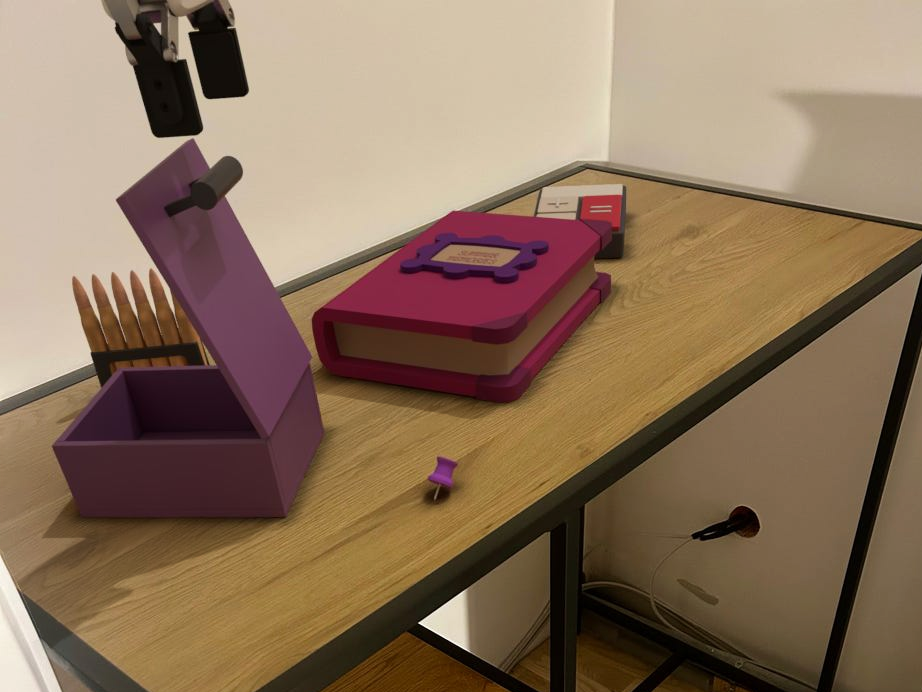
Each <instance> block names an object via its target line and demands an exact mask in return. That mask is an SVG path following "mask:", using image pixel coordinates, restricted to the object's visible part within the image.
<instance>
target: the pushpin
mask: <svg viewBox="0 0 922 692" xmlns="http://www.w3.org/2000/svg"><path fill="white" fill-rule="evenodd" d="M436 462H437V463H436V467H435V468H434V471H433V473H431V474H430V475H428V477H427V481H429V482H430V483H433V484H435V485H437V488H436V491H435V493H434V497H433V501H435V500H436V499H437V498H438V497H437V496H438V494H439V491H440V488H441V487H444V488H447V489H453V487H454V483H453V479H452V478H453V475H454V470H455V468H457V467H458V466H459V462H456V461H454V460H452V459H450V458H447V457H443V456H436Z"/></svg>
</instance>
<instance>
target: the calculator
mask: <svg viewBox="0 0 922 692" xmlns="http://www.w3.org/2000/svg"><path fill="white" fill-rule="evenodd" d="M533 217H546V218H559V219H572V220H579V219H592V220H605V221H609V222H612V240H611V241H610V242H609V243H608V244H607V246H606V247H605V248H604V249H603V250H602V251H598V252H597V253H596V254H595V255H594V260H595V259H597V260H598V259H621V258H624V254H625V234H626V222H627V221H626V218H627V186H626V185H624V184H622V183H607V184H606V183H605V184H585V185H582V184H581V185H564V186H563V185H562V186H544V187H542V188H541V189H539V191H538V196H537V199H536V204H535V209H534V212H533Z"/></svg>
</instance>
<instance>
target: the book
mask: <svg viewBox="0 0 922 692" xmlns="http://www.w3.org/2000/svg"><path fill="white" fill-rule="evenodd" d="M611 240H612V222H609V221H605V220H592V219H579V220H572V219H559V218H546V217H534V216H533V215H532V216H531V215H517V214H505V213H493V212H492V213H490V212H480V211H479V212H477V211H464V210H452V211H450V212H448V213H447V214H445V215H444V216H443V217H442V218H440V219H439V220H438V221H436V222H435V223H433V224H432V225H431V226H430V227H428V228H427V229H425V230H424V231H423V232H421V233H420V234H418V235H417V236H416V237H415V238H413V239H412V240H410V241H409V242H408V243H406V244H405V245H404V246H402V247H401V248H399V249H398V250H397V251H395V252H394V253H393V254H391V255H390V256H388V257H387V258H386V259H384V260H383V261H382V262H380V263H379V264H378V265H377V266H375V267H374V268H373V269H371V270H369V271H368V272H367V273H366V274H364V275H363V276H361V277H360V278H358V280H356V281H355V282H353V283H352V284H351V285H349V286H348V287H346V288H345V289H344V290H343V291H341V292H340V293H338V294H337V295H335V296H334V297H333V298H332V299H330V300H329V301H327V302H326V303H324V305H322V306H320V307H319V308H318V309H317V310H315V311H314V312H313V315H312V317H311V330H312V336H313V340H314V345H315V349H316V353H317V356H318V360H319V362H320V364H321V365H322V366H323V368H325V370H327V371H329V373H331V374H332V375H333V376H339V377H345V378H346V377H347V378H353V379H359V380H364V381H365V380H366V381H372V382H378V383H385V384H392V385H397V386H405V387H410V388H418V389H424V390H430V391H437V392H444V393H450V394H456V395H462V396H469V397H476V400H483V401H489V402H495V403H511V402H514V401H516V400H519V399H520V398H521V396H522V395H523V394H524V393H525V392H526V391H527V390H528V389H529V387H530V386H531V385H532V379H533V378H534V377H535V376H537V374H538V373H539V372H540V371H541V369H542V368H543V367H544V366H545V365H546V364H547V363H548V362H549V361H550V359H551V358H552V357H553V356H554V355H555V354H556V353H557V352H558V350H559V349H560V348H561V347H562V346H563V345H564V343H566V341H567V340H568V339H569V338H570V337H571V336H572V334H573V333H574V332H575V331H576V330H577V329H578V327H579V326H580V325H581V324H582V323H583V322H584V321H585V320H586V318H587V317H588V316H589V315H590V314H592V312H593V311H594V309H596V308H597V306H598V305H599V304H602V303H603V302H604V300H606V298H607V297H608V296H609V295H610V294H611V293H612V274H609V273H607V272H603V271H602V272H601V271H596V268H595V259H594V255H595V254H596V253H597V252H598V251H602V250H603V249H604V248H605V247H606V246H607V244H608V243H609V242H610V241H611Z"/></svg>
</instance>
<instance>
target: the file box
mask: <svg viewBox="0 0 922 692" xmlns="http://www.w3.org/2000/svg"><path fill="white" fill-rule="evenodd" d="M313 375H314V374H313V370H312V366H311V362H309V364H308V366H307V368H306V370H305V372H304V373H303V375H302V377H301V379H300V381H299V383H298V385H297V386H296V388H295V390H294V392H293V394H292V396H291V398H290V399H289V401H288V403H287V405H286V407H285V409H284V411H283V412H282V414H281V416H280V418H279V420H278V422H277V424H276V425H275V427H274V429H273V431H272V433H271V435H270V436H269V437H267V438H264V439H262V438H261V437H260V435H259V433H258V432H257V430H256V428H255V427H254V425H253V424H252V422H251V420H250V419H249V417H248V415H247V414H246V412H245V411H244V409H243V407H242V406H241V404H240V402H239V401H238V399H237V397H236V396H235V394H234V393H233V391H232V389H231V388H230V386H229V384H228V383H227V381H226V380H225V378H224V376H223V375H222V373H221V371H220V370H219V368H218V366H217V365H216V364H215V365H214V364H213V365H212V364H210V365H207V366H165V367H135V366H134V367H124V368H118V369H117V370H116V372H115V373H114V374H113V375H112V376H111V378H110V379H109V380H108V381H107V382H106V383H105V384H104V386H103V387H102V388H101V387H100V389H99V390H98V391H97V393H96V394H94V396H93V397H92V398H91V399H90V401H89V402H88V403H87V404H86V405H85V406H84V408H83V409H82V410H81V411H80V412H79V414H77V416H76V417H75V418H74V419H73V420H72V421H71V423H70V424H68V426H67V427H66V429H65V430H64V431H63V432H62V433H61V434H60V436H59V437H57V439H56V440H55V441H54V442H53V443H52V445H51V448H52V451H53V453H54V455H55V457H56V460H57V462H58V464H59V467H60V469H61V472H62V474H63V477H64V479H65V481H66V484H67V486H68V488H69V490H70V493H71V495H72V497H73V500H74V502H75V505H76V507H77V510H78V511H79V514H80V517H81V519H82V518H286V517H287V515H288V513H289V511H290V509H291V507H292V505H293V503H294V500H295V498H296V496H297V494H298V492H299V490H300V487H301V485H302V483H303V481H304V478H305V476H306V474H307V472H308V470H309V467H310V466H311V463H312V461H313V459H314V456H315V454H316V452H317V450H318V448H319V446H320V443H321V441H322V439H323V437H324V435H325V433H326V432H325V428H324V424H323V418H322V414H321V413H322V412H321V408H320V404H319V399H318V394H317V390H316V385H315V380H314V376H313Z"/></svg>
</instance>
